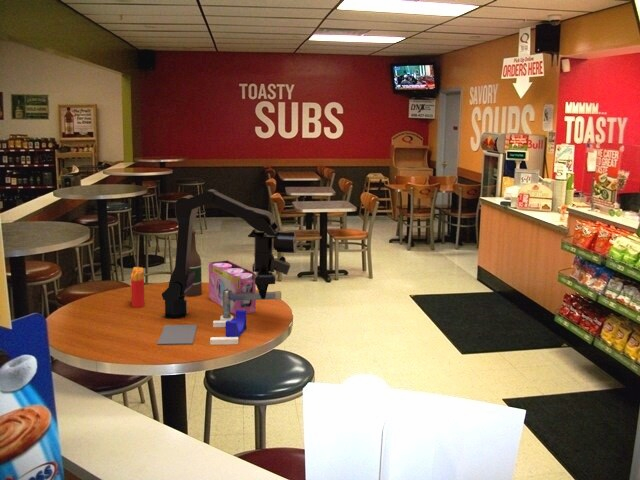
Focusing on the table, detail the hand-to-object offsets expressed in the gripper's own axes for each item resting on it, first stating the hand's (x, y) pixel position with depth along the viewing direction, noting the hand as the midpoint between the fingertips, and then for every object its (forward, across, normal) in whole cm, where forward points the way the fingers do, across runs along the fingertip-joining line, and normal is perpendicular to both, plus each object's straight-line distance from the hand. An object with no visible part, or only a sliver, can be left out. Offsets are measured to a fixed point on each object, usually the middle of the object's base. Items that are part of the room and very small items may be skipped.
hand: (263, 298), depth 195 cm
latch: (+7, +2, +3) cm, 8 cm away
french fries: (+8, +21, +42) cm, 48 cm away
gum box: (+8, +19, +10) cm, 22 cm away
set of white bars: (+8, -8, +12) cm, 16 cm away
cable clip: (+8, -11, +10) cm, 17 cm away
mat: (+8, -10, +26) cm, 29 cm away
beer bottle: (+8, +34, +24) cm, 42 cm away
